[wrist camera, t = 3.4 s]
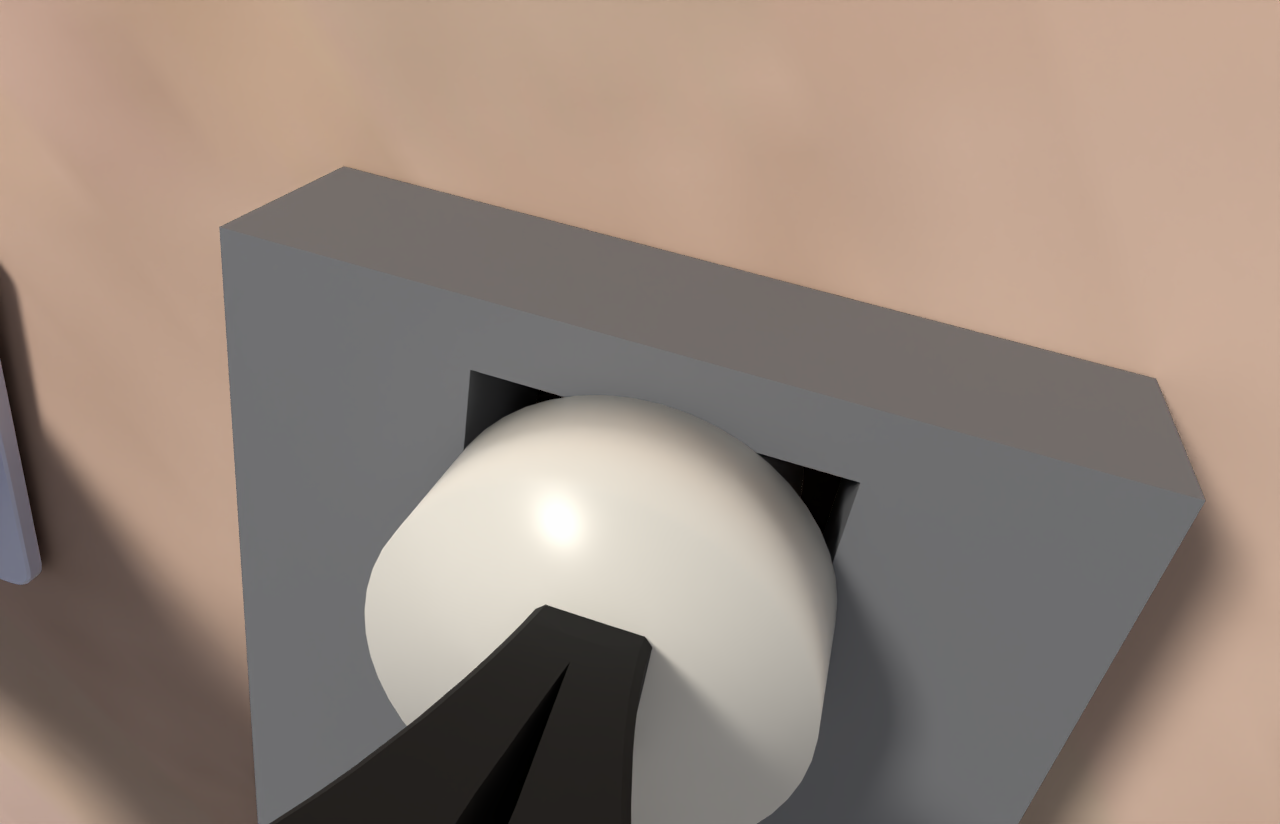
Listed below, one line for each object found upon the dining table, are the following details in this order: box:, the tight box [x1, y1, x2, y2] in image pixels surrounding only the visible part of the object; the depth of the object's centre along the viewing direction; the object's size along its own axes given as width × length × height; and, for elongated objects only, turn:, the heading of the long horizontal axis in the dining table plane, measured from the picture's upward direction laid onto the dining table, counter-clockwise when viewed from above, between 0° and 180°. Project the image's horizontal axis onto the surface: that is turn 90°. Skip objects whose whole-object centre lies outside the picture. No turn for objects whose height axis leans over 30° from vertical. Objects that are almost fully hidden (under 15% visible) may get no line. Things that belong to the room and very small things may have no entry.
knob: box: [364, 395, 837, 824], centre depth 14 cm, size 6×6×5 cm
